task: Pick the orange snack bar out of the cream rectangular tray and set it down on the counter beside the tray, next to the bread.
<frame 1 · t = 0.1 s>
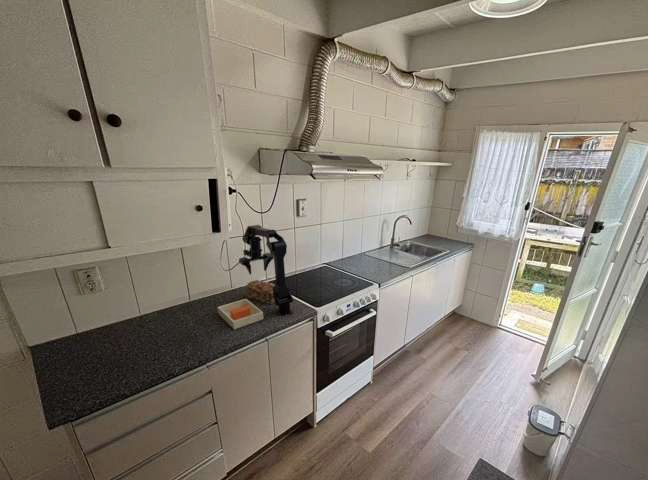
hand: (257, 272, 175), 15 cm above the countertop, tool pointing down, fingers open, 9 cm apart
bread: (264, 298, 177), on the countertop
snack bar: (240, 316, 156), point 1 cm above the countertop, touching cream rectangular tray
cream rectangular tray: (241, 317, 156), on the countertop
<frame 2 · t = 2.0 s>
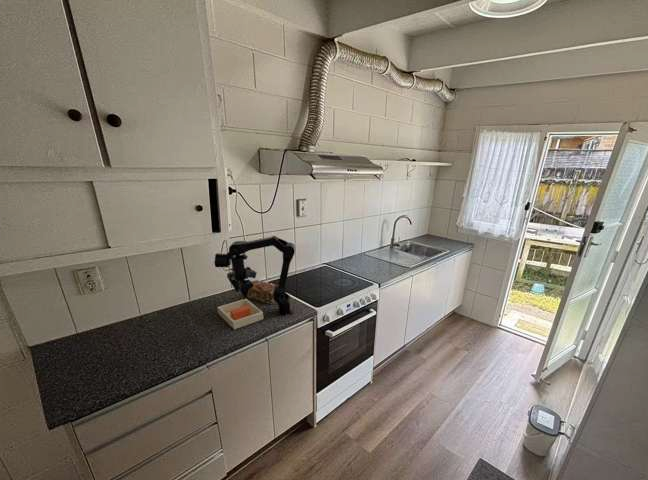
hand: (241, 294, 155), 11 cm above the countertop, tool pointing down, fingers open, 9 cm apart
nothing on the countertop moved.
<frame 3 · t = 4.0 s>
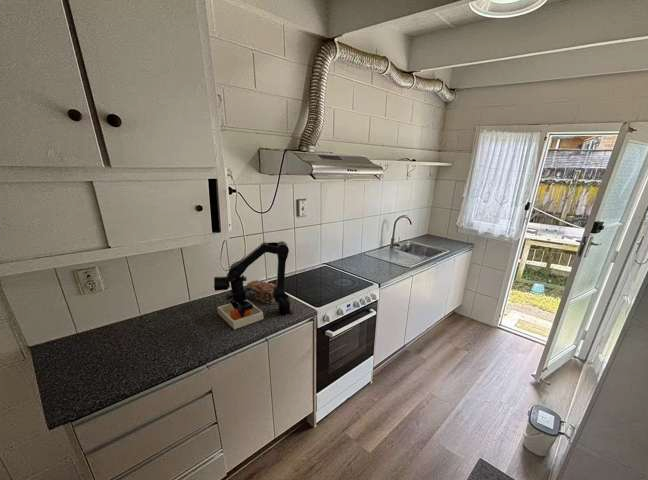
hand: (240, 315, 156), 1 cm above the countertop, tool pointing down, fingers closed on snack bar, 4 cm apart
snack bar: (240, 316, 156), point 1 cm above the countertop, touching gripper, cream rectangular tray
everything else where it was.
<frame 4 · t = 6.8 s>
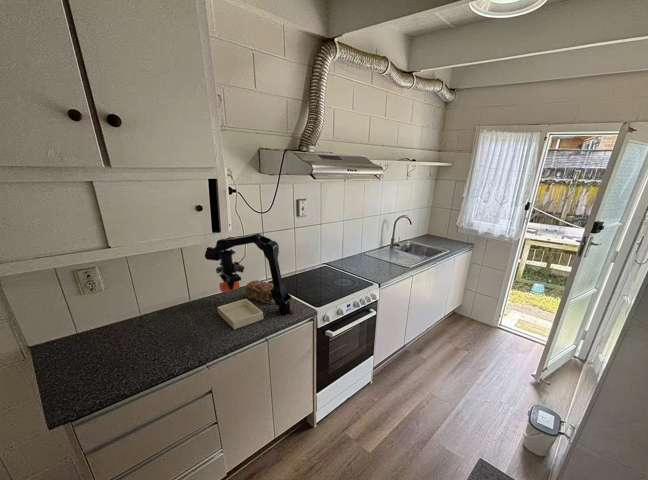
hand: (230, 288, 162), 11 cm above the countertop, tool pointing down, fingers closed on snack bar, 4 cm apart
snack bar: (230, 289, 163), point 10 cm above the countertop, touching gripper
everything else where it was.
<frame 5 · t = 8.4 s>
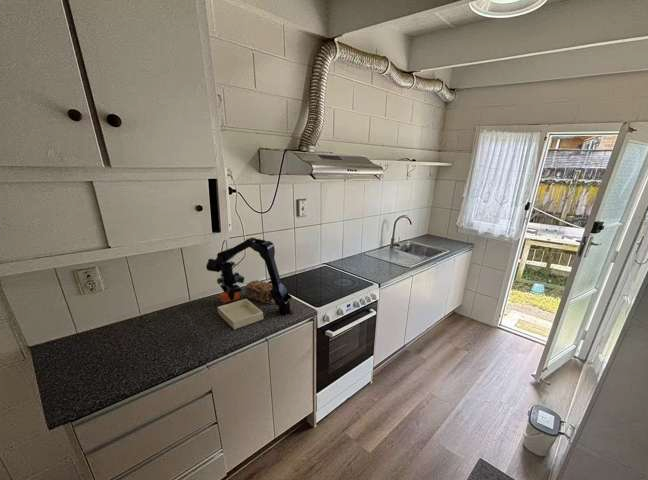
hand: (230, 298, 167), 4 cm above the countertop, tool pointing down, fingers closed on snack bar, 4 cm apart
snack bar: (230, 299, 167), point 3 cm above the countertop, touching gripper
everything else where it was.
when the fingers open (0 cm above the countertop, at t = 9.6 s): snack bar stays where it is, on the countertop.
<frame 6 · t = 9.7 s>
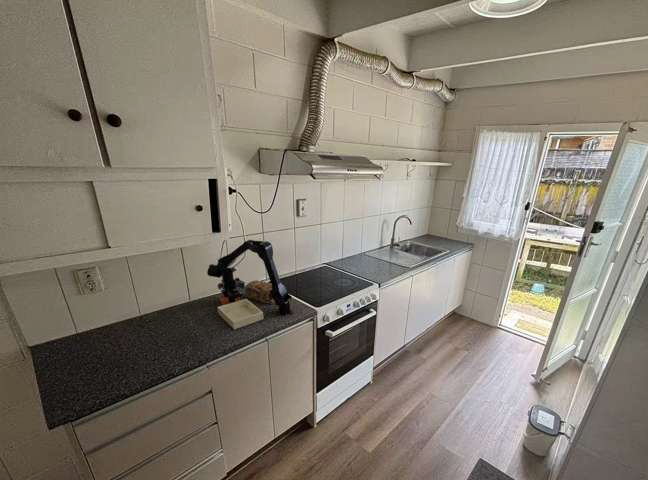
hand: (231, 303, 168), 0 cm above the countertop, tool pointing down, fingers open, 4 cm apart
snack bar: (231, 304, 168), on the countertop
everything else where it was.
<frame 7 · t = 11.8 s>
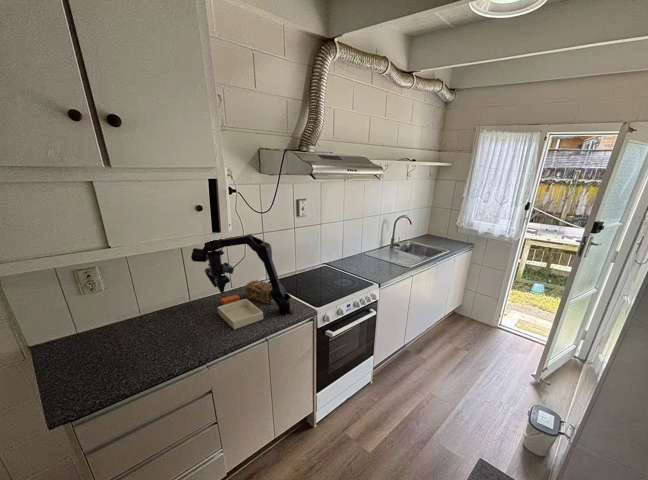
hand: (218, 290, 157), 12 cm above the countertop, tool pointing down, fingers open, 9 cm apart
nothing on the countertop moved.
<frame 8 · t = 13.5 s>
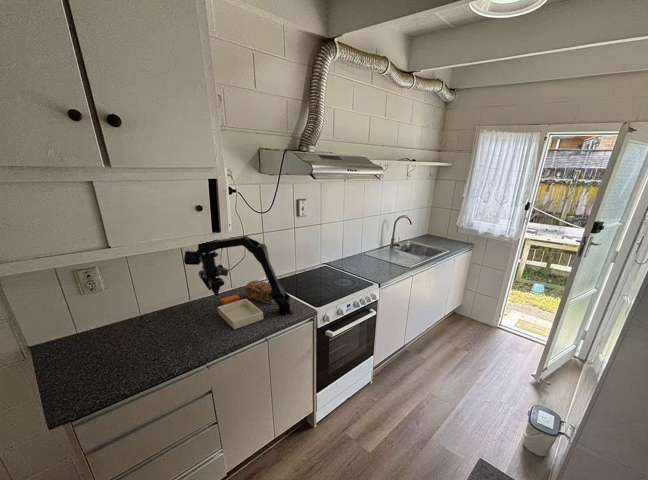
hand: (213, 292, 154), 12 cm above the countertop, tool pointing down, fingers open, 9 cm apart
nothing on the countertop moved.
at the end: snack bar inside the target area (0.1 cm from its centre), on the countertop; the gripper is holding nothing; bread moved 0.4 cm from its start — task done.
